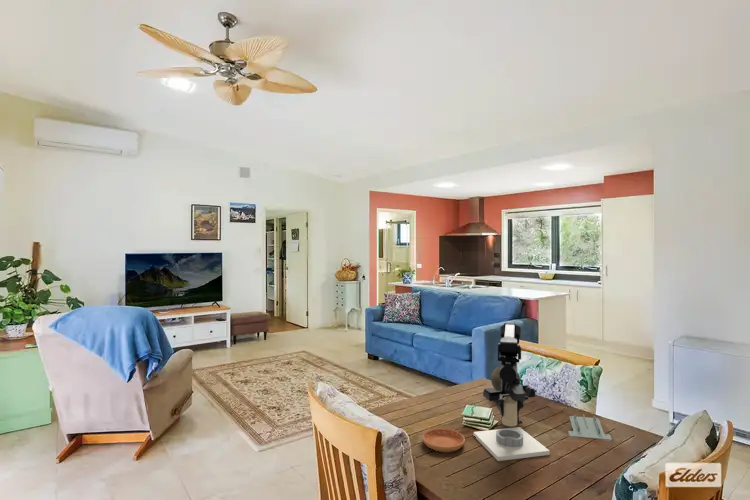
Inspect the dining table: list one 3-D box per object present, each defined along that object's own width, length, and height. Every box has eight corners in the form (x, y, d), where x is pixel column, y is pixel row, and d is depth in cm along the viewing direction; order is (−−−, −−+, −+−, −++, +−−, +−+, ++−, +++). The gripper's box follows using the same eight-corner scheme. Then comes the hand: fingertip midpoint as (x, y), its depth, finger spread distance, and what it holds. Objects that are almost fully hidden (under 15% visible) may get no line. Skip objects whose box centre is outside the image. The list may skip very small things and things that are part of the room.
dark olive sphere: (488, 390, 216) (488, 361, 216) (516, 391, 215) (516, 362, 215) (493, 400, 202) (493, 369, 202) (523, 401, 201) (523, 370, 201)
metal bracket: (563, 410, 176) (603, 413, 172) (563, 422, 178) (602, 425, 174) (570, 434, 163) (613, 438, 159) (569, 446, 164) (612, 451, 160)
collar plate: (473, 435, 166) (473, 425, 166) (519, 430, 170) (519, 420, 170) (497, 461, 146) (497, 449, 146) (549, 454, 150) (549, 443, 150)
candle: (515, 427, 154) (515, 400, 154) (500, 424, 157) (499, 398, 157) (518, 422, 159) (518, 396, 159) (504, 419, 162) (503, 393, 162)
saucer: (439, 431, 170) (439, 424, 170) (473, 444, 159) (473, 436, 159) (413, 445, 159) (413, 437, 159) (448, 460, 148) (448, 451, 148)
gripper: (496, 383, 148) (496, 427, 148) (544, 379, 152) (544, 421, 152) (482, 373, 159) (482, 414, 159) (527, 369, 163) (527, 409, 163)
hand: (509, 415), depth 158 cm, fingers closed on candle, 5 cm apart
